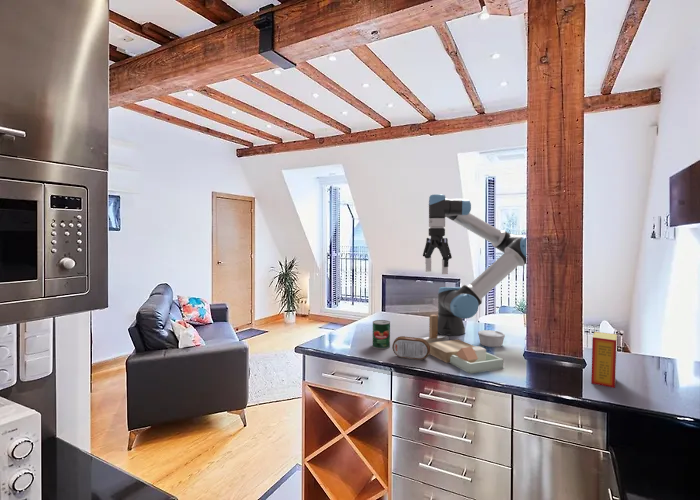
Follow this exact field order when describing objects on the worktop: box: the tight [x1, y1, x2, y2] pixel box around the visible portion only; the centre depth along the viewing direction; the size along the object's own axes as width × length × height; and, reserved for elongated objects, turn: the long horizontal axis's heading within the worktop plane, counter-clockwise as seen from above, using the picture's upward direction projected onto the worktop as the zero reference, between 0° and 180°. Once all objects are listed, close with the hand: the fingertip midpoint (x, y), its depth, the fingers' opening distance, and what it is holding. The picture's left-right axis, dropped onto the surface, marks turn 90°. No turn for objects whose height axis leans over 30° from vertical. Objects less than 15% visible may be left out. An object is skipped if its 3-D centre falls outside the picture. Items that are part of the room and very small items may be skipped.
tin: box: [392, 335, 430, 361], centre depth 156 cm, size 15×3×8 cm, turn 71°
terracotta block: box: [456, 347, 478, 363], centre depth 146 cm, size 5×5×4 cm
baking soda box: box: [590, 331, 618, 389], centre depth 132 cm, size 10×6×16 cm
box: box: [449, 351, 504, 375], centre depth 147 cm, size 15×12×4 cm
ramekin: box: [477, 329, 506, 348], centre depth 176 cm, size 11×11×5 cm
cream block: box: [472, 345, 487, 362], centre depth 150 cm, size 5×5×4 cm
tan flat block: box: [428, 339, 476, 364], centre depth 160 cm, size 16×14×4 cm
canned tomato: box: [372, 319, 391, 350], centre depth 172 cm, size 8×8×11 cm
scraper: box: [421, 314, 450, 343], centre depth 173 cm, size 14×3×14 cm, turn 111°
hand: (436, 272), depth 183 cm, fingers open, 13 cm apart
